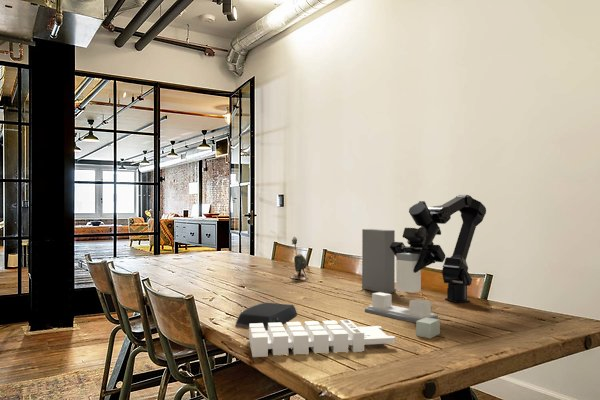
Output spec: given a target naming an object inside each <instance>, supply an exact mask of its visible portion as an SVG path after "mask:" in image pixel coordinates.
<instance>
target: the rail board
mask: <svg viewBox="0 0 600 400" xmlns="http://www.w3.org/2000/svg"><path fill="white" fill-rule="evenodd" d="M392 294H393V293H381V292H373V293H371V305H367V307H366V308H364V312H365V313H370V314H373V315H374V314H375V315H378V316H383V317H388V318H392V319H397V320H400V321H405V322H410V323H415V324H416V321H418V320H421V319H423V318H426V317H428V318H434V319H439V318H438V317H439V315H438V314H436V313H432V301H431V300H426V299H419V298H415V299H411V300H409V307H408V308H407V307H403V306H398V305H393V304H392V296H393V295H392Z"/></svg>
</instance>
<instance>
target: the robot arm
mask: <svg viewBox="0 0 600 400" xmlns="http://www.w3.org/2000/svg"><path fill="white" fill-rule="evenodd" d="M457 212H459V213H460V217H461V220H462V224H461V227H460V231H459V233H458V237H457V240H456V242H455V246H454V249H453V252H452V255H451V256H446V254H445V252H444V250H443V249H442V246H441V245H440V244H435V243H434V242H433V241H434V239H435V238H436V236H441V235H442V230H441V227H440V226H439V225H440V224H441V225H444V224H447V223H448V222H449V221H450V220H451V216H452V215H453V214H455V213H457ZM408 213H409V215H410V216H411V218H412V220H413V222H414V223H415V225H416V226H418V228H416V227H404V230H403V232H402V238H403V239H406V240H407V241H406V243H407V244H408V245H409V246H406V245H405V243H404V241H402V242H401V241H395V242H392V244H391V245H390V248H391V250H392V251H393V253H394V254H395V257H396V254H397V253H414V254H420V258H419V260H418V261H417V263H416V265H415V267H414V270H413V271H414V273H416V272H418V271H419V270H421V271H422V269H424V268H426V267H428V266H429V265H431V264H435V263H436V262H437V263H443V264H442V270H441V274H442V279H443V280H442V281H443V283H444V284H447V289H446V290H447V291H446V292H447V294H446V295H447V296H446V297H445V298H444V300H446V301H449V302H453V303H458V304H459V303H466V302H471V299H468V286H469V287H470V286H472V281H473V278H472V277H471V275H470V273H469V266H468V262H467V258H468V254H469V251H470V248H471V244H472V241H473V238H474V235H475V231H476V228H477V226H478V225H480V223H482V221H483V220H484V218H485V216H486V214H487V208H486V206H485V205H484V204H483V203H482V202H481V201H479V200H477V199H475V198H473V197H472V196H471V195H470V194H458V195H456V196H455V197H454V198H452V199H450V200H449V201H446V202H445V203H443V204H441V205H435V206H429V207H428V206H427V203H426V201H425V200H419V201H418V202H417V203H415V204H414V205H412V206H410V207H409V209H408ZM438 224H439V225H438Z"/></svg>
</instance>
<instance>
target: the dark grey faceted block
mask: <svg viewBox="0 0 600 400" xmlns="http://www.w3.org/2000/svg"><path fill="white" fill-rule="evenodd" d="M297 316H298V312H297V309H296V307H295V305H294V304H285V303H274V302H267V301H266V302H263V303H258V304H254V305H252V306H250V307H248V308H246V309H244V310H243V311H242V312H240V313H239V315H238V317H237V320H236V322H235V326H238V327H247V328H249V324H251V323H263V325H264V328H265V330H268V323H277V322H281V323H282V325H284V324H286V322H290V321H291V320H293V319H294V318H296V317H297ZM289 320H290V321H289Z"/></svg>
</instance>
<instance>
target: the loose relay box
mask: <svg viewBox="0 0 600 400" xmlns="http://www.w3.org/2000/svg"><path fill="white" fill-rule="evenodd" d="M440 321H441V319H440V318H437V319H434V318H428V317H426V318H423V319H421V320H418V321H416V323H415V336H416V337H421V338H427V339H432V338H433V337H436V336H438V335H440V334H441V332H440V331H441V325H440V324H441V322H440Z"/></svg>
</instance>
